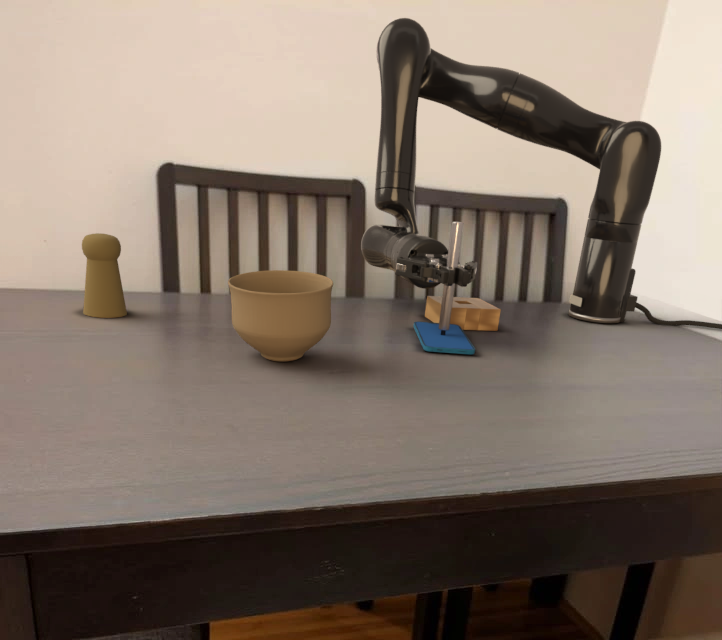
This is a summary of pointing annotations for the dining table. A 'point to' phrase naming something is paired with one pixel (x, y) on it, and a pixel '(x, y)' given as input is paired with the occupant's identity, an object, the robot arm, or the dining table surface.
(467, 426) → the dining table surface
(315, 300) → the bowl
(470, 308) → the holder
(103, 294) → the game pawn piece
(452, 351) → the smartphone
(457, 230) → the stylus
